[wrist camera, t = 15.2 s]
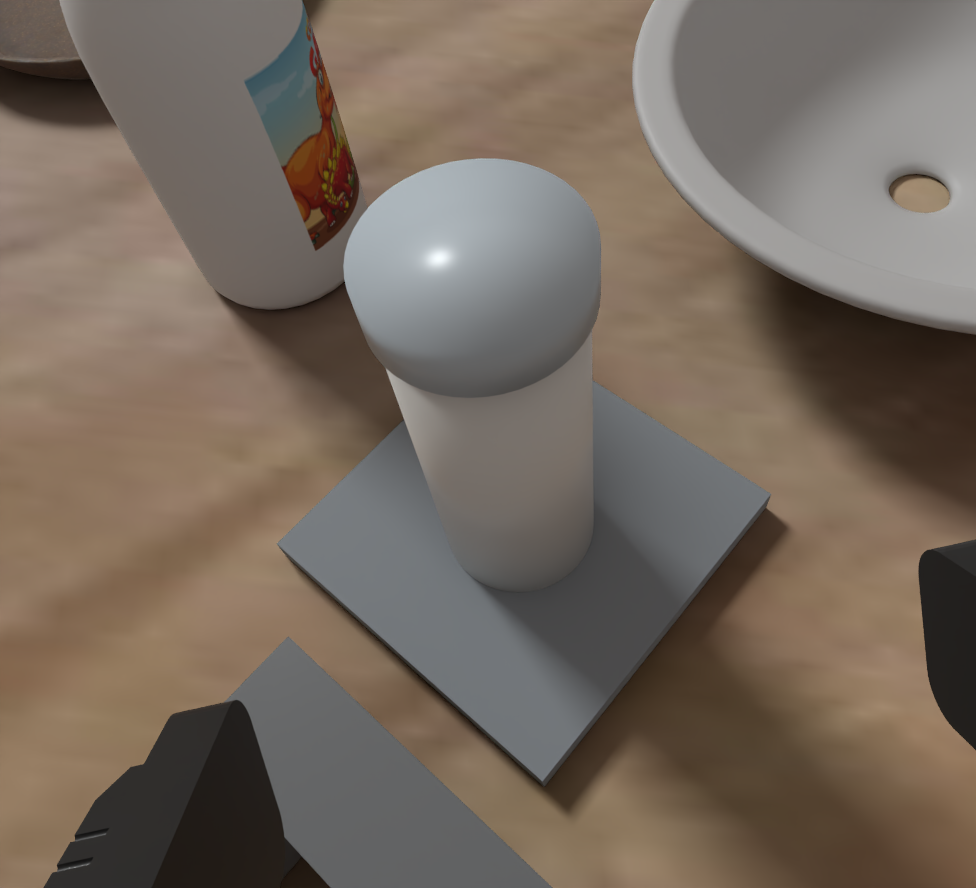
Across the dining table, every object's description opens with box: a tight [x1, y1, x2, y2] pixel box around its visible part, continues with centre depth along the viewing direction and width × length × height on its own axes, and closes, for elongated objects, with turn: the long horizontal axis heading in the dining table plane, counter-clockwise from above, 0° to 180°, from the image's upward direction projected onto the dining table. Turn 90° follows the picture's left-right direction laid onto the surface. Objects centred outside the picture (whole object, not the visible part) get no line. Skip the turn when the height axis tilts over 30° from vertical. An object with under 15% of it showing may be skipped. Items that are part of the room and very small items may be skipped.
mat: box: [277, 380, 771, 787], centre depth 30 cm, size 12×12×1 cm
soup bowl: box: [632, 0, 976, 335], centre depth 34 cm, size 24×24×7 cm
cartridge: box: [343, 159, 601, 592], centre depth 24 cm, size 5×5×14 cm
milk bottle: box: [59, 0, 367, 310], centre depth 30 cm, size 8×8×20 cm
